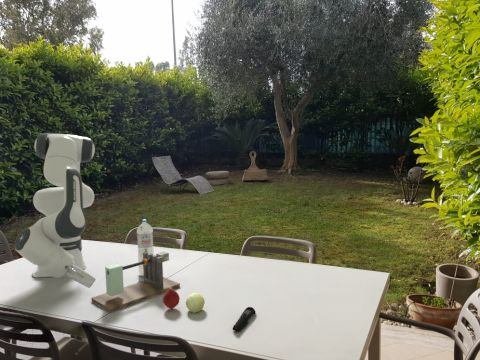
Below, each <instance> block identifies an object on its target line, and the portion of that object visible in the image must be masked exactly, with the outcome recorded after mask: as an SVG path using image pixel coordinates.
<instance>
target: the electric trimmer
mask: <svg viewBox="0 0 480 360" xmlns="http://www.w3.org/2000/svg"><path fill="white" fill-rule="evenodd" d="M253 314H255V315H256V314H257V313H256V310H255V309H254V308H253V307H252V306H247V307H245V309H244V310H243V312H242V313H241V315H240V316H239V318H238V319H237V321H236V322H235V324H234V325H233V327H232V331H234V330H235V331H236V332H240V331H242V330H243V329H244V328H245V327H246V326H248V324H249V320H250V319H251V318H252V316H253ZM241 329H242V330H241Z"/></svg>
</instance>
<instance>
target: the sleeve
mask: <svg viewBox="0 0 480 360" xmlns="http://www.w3.org/2000/svg"><path fill="white" fill-rule="evenodd" d="M123 267H124V266H123V265H122V264H119V263H115V264H110V265H107V266H105V267H104V268H105V285H106V286H105V288H106V293H107V294H108V295H110V296H114V295H117V294H120V293H123V292H124V287H125V286H124V270H123ZM108 271H109V273H108Z"/></svg>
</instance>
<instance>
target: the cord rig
mask: <svg viewBox="0 0 480 360" xmlns="http://www.w3.org/2000/svg"><path fill="white" fill-rule="evenodd" d="M169 255H170V253H169V251H162V252H157V253H155V254H154V255H153V254H151V253H150V254H148V252H144V253H143V260H142V261H141V262H138V261H137V262H136V263H132V264H127V265H124V266H123V271H124V270H129V269H131V268H134V267H139V265H142V264H143V271H144V277H143V280H142V281H139V282H136V283H133V284H129V285H126V286H124V292H123V293H120V294H117V295H114V296H110V295H108V294H107V292H105V293H102V294H98V295H96V296H93V297H91V299H90V300H91V303H93V304H95V305H96V306H98V307H100V308H102V309H103V310H105V311H107V312H108V313H110V314H111V313H114V312H116V311H119V310H122V309H124V308H128V307H129V306H133V305H136V304H137V303H138V304H139V303H140V302H143V301H146V300H148V299H151V298H152V299H153V298H155V297H157V296H160V295H162V294H163V295H164V294H165V293H166V292H167V291H168V290H169V288H170V287H171V288H172V289H173V290H176V289H180V287H181V283H179V282H176V281H175V280H171V279H169V278H166V277H164V272H163V271H164V267H163V263H165V262H168V261H170V256H169ZM108 273H109V271H108Z"/></svg>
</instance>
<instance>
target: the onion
mask: <svg viewBox="0 0 480 360" xmlns="http://www.w3.org/2000/svg"><path fill="white" fill-rule="evenodd" d="M180 299H181V298H180V295H179V293H178V292H177V290H176V289H172V288H171V287H170V288H169V290H168V291H167V292H165V293H163V297H162V303H163V304H164V306H165V307H166V308H167V309H169V310H174V309H175V308H176V307H177V306H178V305H179V303H180Z"/></svg>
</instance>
